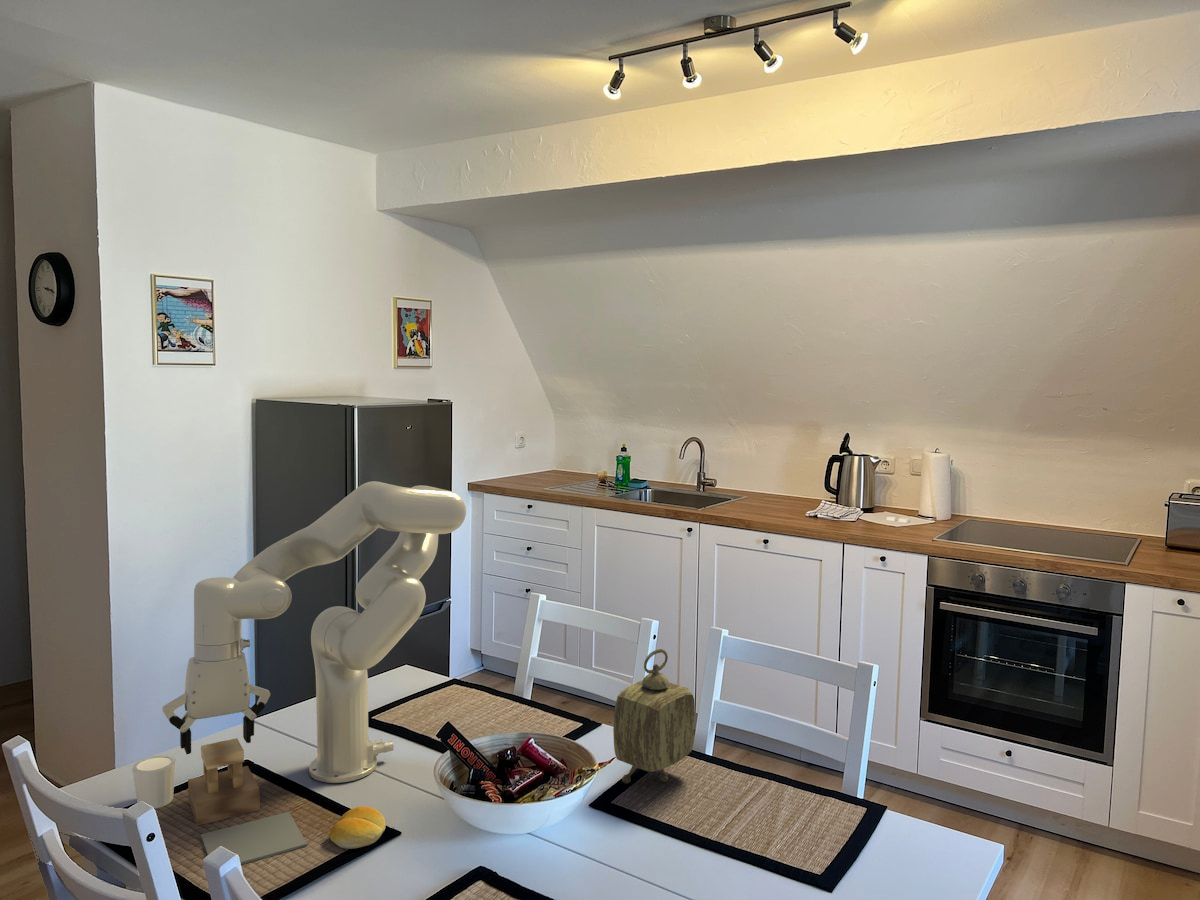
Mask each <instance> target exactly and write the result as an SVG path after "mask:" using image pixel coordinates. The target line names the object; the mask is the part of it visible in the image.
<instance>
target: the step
mask: <svg viewBox="0 0 1200 900" xmlns="http://www.w3.org/2000/svg"><path fill="white" fill-rule="evenodd" d="M242 768H243V786H241V787H237V788H234V787H233V785H232V779H229V777H228V769H227V770H223V771H220V772H218V792H216V793H212V794H209V793H208V789H207V784H206V785H205V783H204V775H201V776H197V777H193V778H189V779H187V780H188V781H187V782H188V783H187V784H188V786H187V787H188V788H187V790H188V802H190V803H189V806H190V805H191V806H190V808H192V809H191V811H192V814H193V817H194V819H195V822H196V826H197V825H199V826H202V824H203V825H207V824H210V823H211V824H212V823H215V822H217V821H222V820H226V819H230V818H234V817H238V816H242V815H246V814H250V813H254V812H258V811H260V810H261V801H260V800H261V798H260V787H259V785H258V783H257V781H256V779H255V777H254V776H253V773H252V771H251V770H250V768H249V766H248V765H245V766H242Z"/></svg>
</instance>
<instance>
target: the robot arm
mask: <svg viewBox="0 0 1200 900" xmlns="http://www.w3.org/2000/svg"><path fill="white" fill-rule="evenodd" d="M466 515H467V508H466V504H465V501H464V500H463V498H462V497H461V496H460V495H458V494H457V493H456V492H454V491H452V490H447V489H443V488H438V487H434V486H430V485H420V484H419V485H414V486H412V487H405V486H400V485H395V484H390V483H386V482H382V481H374V480H373V481H368V482H364V483H362V484H361V485H359V486H358V487H357V488H355V489H354V490H352V491H351V492H350V493H349V494H347V496H345V497H344V498H343V499H341V500H340V501H339V502H338V503H336V504H335V505H334V506H332V508H330V509H329V510H327V511H326V512H325V513H324V514H323V515H321V516H320V517H319V518H318V519H316V520H315V521H314V522H312V523H311V524H310V525H308V526H306V527H304V528H301V529H300V530H297V531H295V532H294V533H292V534H290V535H289V536H286V537H284V538H282V539H280V540H278V541H276V542H275V543H273V544H271V545H270V546H267V547H266V548H265V549H263V550H262V551H260V553H258V554H257V555H256V556H254V557H253V558H252V559H251V560H250V561H248V562H247V563H246V564H245V565H243V566H242V567H241V568H240V569H239V570H237V572H236V573H235V575H234V576H233V577H232V578H231V577H224V576H222V577H221V576H220V577H217V576H216V577H209V578H204V579H202V580H200V581H198V582H197V583H196V584H195V586H194V590H193V657H190V658H189V659H188V662H187V668H186V674H185V684H184V685H185V686H184V693H183V694H180V696H178V697H176V698H174V699H173V700H171V701H169V702H168V703H166V704H164V705H163V706H162V708H161V709H162V712H163V714H164V716H165V717H166V719H167V720H168V722H169V723H170V724H171V725H172V726H173V727H175V728H177V729H178V730H179V731H180V733H179V735H180V736H179V738H180V739H179V741H180V742H179V744H180V745H179V746H180V749H181V750H182V749H184V752H185V755H190V754H191V753H192V731H191V728H190V727H191V726H192V725H193V724H194V723H195V721H197V720H201V719H208V718H214V717H215V718H216V717H220V716H225V715H226V716H228V715H234V714H238V713H243V715H244V717H243V716H242V720H243V721H242V729H243V730H242V731H243V732H242V738H243V740H244V741H245V744H251V742H252V737H253V736H254V735H255V720H256V719H257V716H259V714H260V713H261V712H262V711H263V710H264V708H265V707H266V704H267V703H268V701H269V699H270V697H271V692H270V690H269V689H266V688H263V687H260V686H258V685H254V684H251V683H250V677H249V669H248V662H247V658H246V653H245V652H243V651H244V649H246V648H251V640H250V639H246V638H243V637H242V620H269V619H274V618H277V617H279V616H280V615H282V614H283V613H285V612H286V611H287V610H288V608H289V607H290V605H291V603H292V595H293V594H292V590H291V588H290V587H289V584H288V583H286V582H285V581H287V580H289V578H291V577H293V576H294V575H296V574H298V573H300V572H302V571H304V570H306V569H309V568H312V567H318V566H323V565H328V564H332V563H335V562H337V561H339V560H341V559H343V558H344V557H346V556H347V555H348V554H349V553H351V551H352V550H354V549H355V548H356V547H357V546H359V545H360V544H361V543H362V542H363V541H364V540H365V539H367V538H368V537H369V536H370V535H372V534H373V533H374V532H375V531H377V529H382V530H385V531H389V532H398V533H399V534H398V537H397V539H396V540H395V541H394V542H393V544H392V545H391V547H390V548H389V549H388V550H387V551H386V552H385V553H384V554H383V555H382V556H381V558H379V559H378V560H377V562H376V563H374V565H372V567H371V568H370V569H369V570H368V571H367V572H366V573H365V574H364V575H363V576H362V577H361V578H360V580H359V581H358V583H357V585H356V588H355V599H356V601H357V603H358V604H359V605H360V607H361V608H363V609H364V610H363V611H362V612H359V611H357V610H355V609H353V608H350V607H348V606H341V605H340V606H339V605H337V606H331V607H328V608H326V609H324V610H323V611H322V612H320V613H319V614H318V615H317V617H316V618H315V619H314V621H313V624H312V627H311V633H310V644H311V650H312V657H313V661H314V669H315V670H314V671H315V691H316V693H315V697H316V698H315V702H316V703H315V707H316V708H315V709H316V748H317V749H316V751H317V757H316V758H314V759H313V760H312V761H311V762H310V763H309V767H308V772H309V773H308V774H309V775H310V777H311V778H313V779H314V780H316V781H319V782H321V783H330V784H331V783H332V784H339V783H348V782H353V781H354V782H355V781H356V780H360V779H363V778H365V777H367V776H368V775H370V774H371V773H373V772H374V771H375V770H376V769H377V767H378V758H377V757H378V755H379V754H382V753H389V752H393V751H394V743H393V740H390V741H389V740H388V741H385V742H383V739H382V738H381V739H380V738H379V739H376V740H373V741H371V740H370V739H369V696H368V695H369V677H368V676H369V675H368V670H369V669H371V668H372V667H375V666H376V665H377V664H379V662H381V661H382V660H383V659H384V658H385V657H386V656H387V655H388V654H389V652H390V651H391V650H392V649H393V648H394V647H395V646H396V645H397V644H398V643H399V641H400V640H402V638H403V637H404V635H406V633H407V632H408V631H409V630H410V629H411V628H412V627H413V625H414V624H415V623H417V621H418V619H419V618H420V616H421V615H422V613H423V610H424V607H425V605H426V599H427V595H426V590H425V587H424V584H423V583H422V581H421V580H420V579H422V577H423V576H424V574H425V573H426V572H427V571H428V569H429V568H430V567H431V565H432V564H433V562H434V561H435V558H436V556H437V552H438V546H439V535H447V534H450V533H453V532H455V531H456V530H458V529H460V527H461V526H462V524H463V523H464V521H465V518H466ZM251 694H252V695H255V696H257V697H258V699H257V701H255V703H254V704H253V705H251ZM183 705H184V711H186V713H185V714H184V715H183V716H182V717H181V718H180V717H179V716H177V714H176V713H175V711H176V710H177V709H178V708H180V707H182V706H183ZM250 705H251V706H250Z"/></svg>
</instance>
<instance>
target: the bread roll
mask: <svg viewBox="0 0 1200 900" xmlns="http://www.w3.org/2000/svg"><path fill="white" fill-rule="evenodd" d="M386 826H387V825H386V819H385V817H384V815H383V814H382V813H381V812H380V811H379V810H377V809H376V808H374V807H370V806H365V805H364V806H363V805H362V806H357V807H353V808H351V809H349V810H348V811H346V812H344V813H343V814H342V815H341V817H340V819H339V820H338V822H336V823H335V824H334V825H333V826H332V827H331V828H330V831H329V838H330V841H331V842H333V843H334V844H335V845H337V847H339V848H341V849H346V850H347V849H349V850H352V849H359V848H363V847H367V846H370V845H372V844H374V843H376V842H377V841H378V840H380V838H381V836H382V834H383V833H384V832H385V830H386Z"/></svg>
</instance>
